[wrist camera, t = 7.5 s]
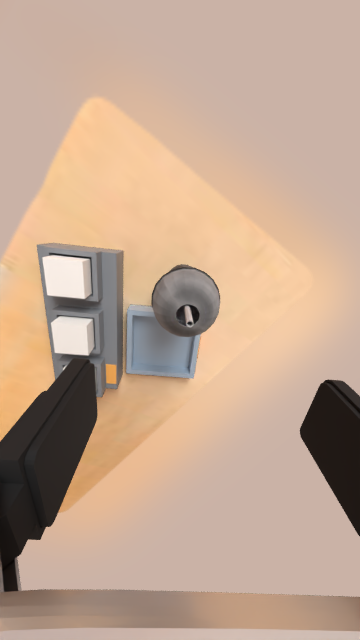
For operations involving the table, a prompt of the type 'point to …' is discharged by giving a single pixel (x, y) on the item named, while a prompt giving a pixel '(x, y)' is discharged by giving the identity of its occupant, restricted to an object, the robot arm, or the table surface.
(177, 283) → the beverage cup
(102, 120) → the table surface
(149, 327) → the tray
